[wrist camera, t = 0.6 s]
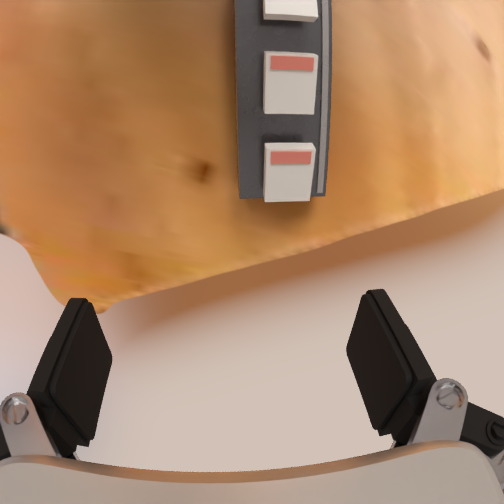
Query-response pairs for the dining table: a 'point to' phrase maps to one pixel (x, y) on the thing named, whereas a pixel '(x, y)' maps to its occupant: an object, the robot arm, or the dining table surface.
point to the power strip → (251, 91)
